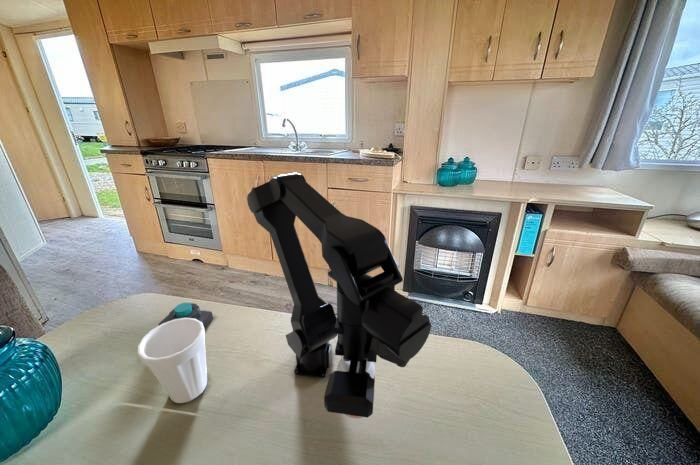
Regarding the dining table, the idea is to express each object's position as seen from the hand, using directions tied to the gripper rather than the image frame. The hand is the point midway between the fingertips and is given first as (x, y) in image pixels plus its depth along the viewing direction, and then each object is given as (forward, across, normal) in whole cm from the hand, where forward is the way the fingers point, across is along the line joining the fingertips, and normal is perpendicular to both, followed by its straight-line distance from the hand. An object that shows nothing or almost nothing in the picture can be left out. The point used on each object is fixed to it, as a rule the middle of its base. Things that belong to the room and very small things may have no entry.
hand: (355, 387), depth 46 cm
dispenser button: (+3, +16, +44) cm, 47 cm away
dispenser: (+7, +16, +44) cm, 47 cm away
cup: (+7, 0, +32) cm, 33 cm away
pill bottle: (+4, 0, 0) cm, 4 cm away
